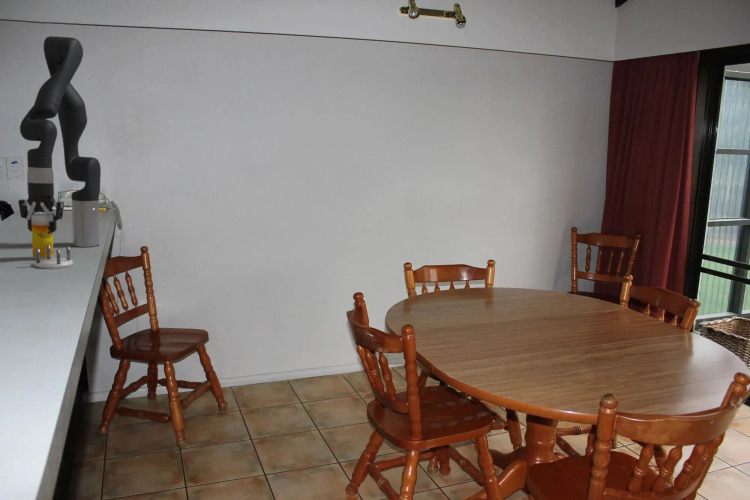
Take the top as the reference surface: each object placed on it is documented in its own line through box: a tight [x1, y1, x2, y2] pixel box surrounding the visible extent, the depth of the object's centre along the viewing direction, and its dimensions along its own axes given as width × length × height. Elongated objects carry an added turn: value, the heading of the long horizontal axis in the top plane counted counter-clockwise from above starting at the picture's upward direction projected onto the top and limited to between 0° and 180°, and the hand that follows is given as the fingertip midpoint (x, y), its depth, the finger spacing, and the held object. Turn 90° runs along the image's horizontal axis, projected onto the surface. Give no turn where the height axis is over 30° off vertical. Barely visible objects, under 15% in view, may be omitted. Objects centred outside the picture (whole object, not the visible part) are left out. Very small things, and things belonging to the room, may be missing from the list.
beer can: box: [31, 212, 55, 260], centre depth 199 cm, size 6×6×15 cm
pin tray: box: [33, 245, 74, 270], centre depth 191 cm, size 11×11×6 cm
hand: (42, 231), depth 198 cm, fingers closed on beer can, 6 cm apart
